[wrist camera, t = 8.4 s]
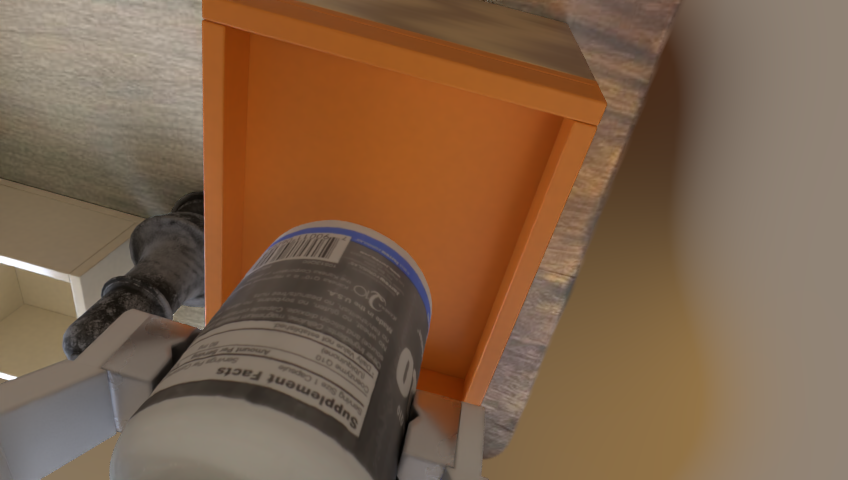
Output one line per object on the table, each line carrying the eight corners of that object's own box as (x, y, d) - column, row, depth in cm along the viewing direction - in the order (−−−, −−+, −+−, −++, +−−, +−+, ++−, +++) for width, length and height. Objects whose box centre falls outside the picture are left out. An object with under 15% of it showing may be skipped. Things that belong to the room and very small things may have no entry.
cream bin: (151, 220, 32) (79, 277, 26) (160, 340, 37) (102, 407, 32) (-8, 175, 32) (-111, 223, 27) (24, 301, 37) (-56, 362, 32)
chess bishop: (275, 223, 30) (150, 373, 20) (240, 287, 33) (116, 446, 23) (183, 168, 29) (3, 295, 19) (155, 239, 32) (-13, 382, 22)
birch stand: (568, 23, 22) (597, 80, 14) (489, 248, 29) (476, 382, 20) (345, -36, 23) (241, -15, 14) (316, 200, 29) (232, 313, 21)
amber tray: (597, 80, 14) (608, 103, 12) (476, 382, 20) (472, 425, 19) (241, -15, 14) (200, -7, 12) (232, 313, 21) (204, 349, 19)
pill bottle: (399, 381, 15) (293, 778, 8) (247, 320, 15) (0, 676, 8) (464, 259, 13) (393, 681, 6) (283, 183, 12) (-33, 526, 5)
